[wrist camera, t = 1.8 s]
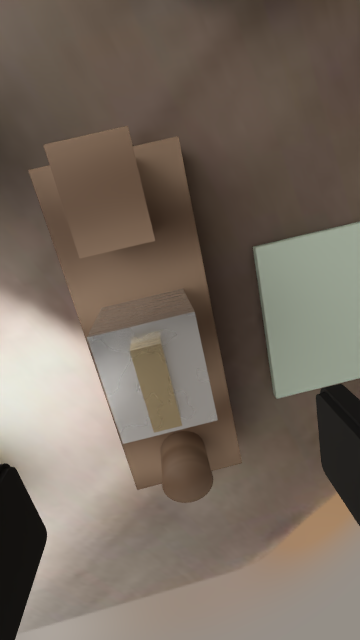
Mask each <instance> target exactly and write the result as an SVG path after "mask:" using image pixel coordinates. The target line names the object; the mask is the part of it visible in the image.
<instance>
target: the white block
mask: <svg viewBox="0 0 360 640" xmlns="http://www.w3.org/2000/svg"><path fill="white" fill-rule="evenodd" d="M87 340H88V343H89V346H90V349H91V351H92V354H93V357H94V360H95V363H96V366H97V369H98V372H99V375H100V378H101V381H102V384H103V387H104V390H105V393H106V396H107V399H108V401H109V404H110V407H111V410H112V413H113V416H114V419H115V422H116V425H117V428H118V431H119V434H120V437H121V440H122V443H123V444H125V443H129V442H133V441H137V440H141V439H145V438H149V437H153V436H157V435H161V434H165V433H169V432H173V431H177V430H181V429H185V428H189V427H193V426H197V425H201V424H205V423H209V422H213V421H217V420H218V419H217V414H216V409H215V404H214V400H213V395H212V390H211V386H210V381H209V376H208V372H207V367H206V362H205V358H204V353H203V348H202V344H201V339H200V334H199V330H198V325H197V320H196V316H195V311H194V309H193V307H192V306H191V304H190V302H189V300H188V298H187V296H186V294H185V292H184V290H183V289H178V290H174V291H170V292H166V293H162V294H158V295H153V296H149V297H145V298H141V299H137V300H132V301H128V302H124V303H120V304H116V305H111V306H107V307H103V308H101V310H100V312H99V314H98V316H97V318H96V320H95V322H94V324H93V326H92V328H91V330H90V332H89V334H88V336H87Z"/></svg>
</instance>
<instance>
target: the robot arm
mask: <svg viewBox="0 0 360 640" xmlns="http://www.w3.org/2000/svg"><path fill="white" fill-rule="evenodd" d="M316 405H317V417H318V429H319V441H320V452H321V463H322V467H323V470H324V472H325V474H326V476H327V477H328V479H329V480H330V482H331V483H332V485H333V486H334V488H335V489H336V491H337V492H338V494H339V496H340V497H341V499H342V500H343V502H344V503H345V504H346V506H347V508H348V509H349V511H350V512H351V514H352V515H353V517H354V518H355V520H356V521H357V523H358V524H359V526H360V400H359V399H358V398H357V397H356V396H355V395H353V394H352V393H351V392H350V391H349V390H348V389H347V388H346V387H345V386H343V385H342V384H338V385H333V386H329V387H325V388H322V389H321V391H320V394H317V395H316ZM46 540H47V531H46V528H45V526H44V524H43V522H42V520H41V518H40V516H39V514H38V512H37V510H36V508H35V506H34V504H33V502H32V500H31V498H30V496H29V494H28V492H27V490H26V488H25V486H24V484H23V482H22V480H21V478H20V476H19V474H18V472H17V470H16V469H15V468H14V467H10V465H8V464H6V463H4V464H0V640H15V638H16V634H17V631H18V628H19V625H20V622H21V619H22V616H23V613H24V610H25V606H26V603H27V600H28V597H29V594H30V591H31V588H32V585H33V582H34V578H35V575H36V572H37V569H38V566H39V563H40V560H41V557H42V554H43V550H44V547H45V544H46Z"/></svg>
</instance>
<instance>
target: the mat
mask: <svg viewBox="0 0 360 640" xmlns="http://www.w3.org/2000/svg"><path fill="white" fill-rule="evenodd" d="M253 253H254V260H255V267H256V274H257V281H258V288H259V295H260V302H261V309H262V316H263V323H264V330H265V337H266V344H267V351H268V358H269V366H270V373H271V380H272V387H273V394H274V396H275V397H276V399H278V398H282V397H286V396H290V395H294V394H298V393H302V392H306V391H310V390H314V389H318V388H322V387H326V386H330V385H334V384H338V383H342V382H346V381H350V380H354V379H358V378H360V222H356V223H351V224H347V225H343V226H339V227H334V228H330V229H326V230H322V231H318V232H313V233H309V234H305V235H301V236H296V237H292V238H288V239H284V240H280V241H275V242H271V243H267V244H263V245H258V246H254V247H253Z"/></svg>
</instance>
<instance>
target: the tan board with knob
mask: <svg viewBox="0 0 360 640" xmlns="http://www.w3.org/2000/svg"><path fill="white" fill-rule="evenodd" d="M43 146H44V149H45V152H46V155H47V158H48V161H49V165H48V166H44V167H39V168H35V169H30V170H28V171H29V174H30V177H31V180H32V183H33V186H34V189H35V192H36V195H37V198H38V201H39V203H40V206H41V209H42V212H43V215H44V218H45V221H46V224H47V227H48V230H49V233H50V236H51V239H52V241H53V244H54V247H55V250H56V253H57V256H58V259H59V262H60V265H61V268H62V271H63V274H64V277H65V280H66V282H67V285H68V288H69V291H70V294H71V297H72V300H73V303H74V306H75V309H76V312H77V315H78V318H79V321H80V323H81V326H82V329H83V332H84V335H85V338H86V341H87V344H88V347H89V350H90V353H91V356H92V359H93V362H94V364H95V367H96V370H97V373H98V376H99V379H100V382H101V385H102V388H103V391H104V394H105V397H106V400H107V402H108V405H109V408H110V411H111V414H112V417H113V420H114V423H115V426H116V429H117V432H118V435H119V438H120V441H121V443H122V440H121V437H120V434H119V431H118V428H117V425H116V422H115V419H114V416H113V413H112V410H111V407H110V404H109V401H108V399H107V396H106V393H105V390H104V387H103V384H102V381H101V378H100V375H99V372H98V369H97V366H96V363H95V360H94V357H93V354H92V351H91V349H90V346H89V343H88V340H87V336H88V334H89V332H90V330H91V328H92V326H93V324H94V322H95V320H96V318H97V316H98V314H99V312H100V310H101V308H103V307H107V306H111V305H116V304H120V303H124V302H128V301H132V300H137V299H141V298H145V297H149V296H153V295H158V294H162V293H166V292H170V291H174V290H178V289H183V290H184V292H185V294H186V296H187V298H188V300H189V302H190V304H191V306H192V307H193V309H194V311H195V316H196V320H197V325H198V330H199V334H200V339H201V344H202V348H203V353H204V358H205V362H206V367H207V372H208V376H209V381H210V386H211V390H212V395H213V400H214V404H215V409H216V414H217V419H218V420H217V421H213V422H209V423H205V424H201V425H197V426H193V427H189V428H185V429H181V430H177V431H173V432H169V433H165V434H161V435H157V436H153V437H149V438H145V439H141V440H137V441H133V442H129V443H125V444H123V443H122V446H123V449H124V452H125V455H126V458H127V461H128V464H129V467H130V470H131V473H132V476H133V479H134V482H135V484H136V487H137V490H139V489H143V488H147V487H150V486H154V485H158V484H162V485H163V490H164V492H165V494H166V495H167V496H168V497H169V498H170V499H172V500H174V501H177V502H182V503H188V502H194V501H197V500H199V499H201V498H203V497H204V496H205V495H206V494H207V493H208V492H209V491H210V489H211V487H212V484H213V476H212V472H211V471H213V470H217V469H221V468H225V467H229V466H233V465H237V464H241V463H242V460H241V455H240V450H239V445H238V440H237V435H236V430H235V425H234V419H233V414H232V409H231V404H230V399H229V394H228V389H227V384H226V378H225V373H224V368H223V363H222V358H221V353H220V348H219V342H218V337H217V332H216V327H215V322H214V317H213V312H212V307H211V301H210V296H209V291H208V286H207V281H206V276H205V271H204V265H203V260H202V255H201V250H200V245H199V240H198V235H197V230H196V224H195V219H194V214H193V209H192V204H191V199H190V194H189V189H188V183H187V178H186V173H185V168H184V163H183V158H182V153H181V147H180V142H179V137H178V136H177V137H172V138H168V139H163V140H159V141H154V142H150V143H146V144H141V145H137V146H133V145H132V141H131V137H130V133H129V128H128V126H124V127H120V128H115V129H111V130H106V131H102V132H97V133H93V134H88V135H84V136H79V137H75V138H70V139H66V140H61V141H57V142H52V143H48V144H44V145H43Z"/></svg>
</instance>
